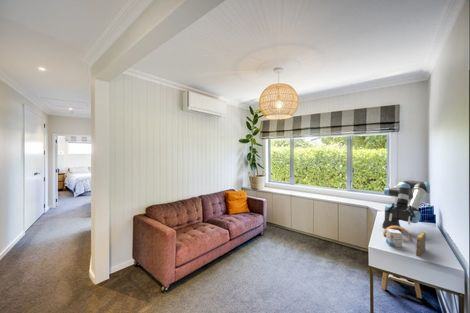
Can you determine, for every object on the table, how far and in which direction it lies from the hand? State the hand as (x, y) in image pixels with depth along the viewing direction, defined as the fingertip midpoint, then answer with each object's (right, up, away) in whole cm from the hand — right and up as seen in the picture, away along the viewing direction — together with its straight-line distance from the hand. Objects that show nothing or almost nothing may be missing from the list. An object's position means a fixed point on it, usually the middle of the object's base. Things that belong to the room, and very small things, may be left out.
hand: (399, 222), depth 179 cm
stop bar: (0, -16, -21) cm, 27 cm away
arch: (+3, -16, +6) cm, 18 cm away
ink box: (-11, -16, -8) cm, 21 cm away
